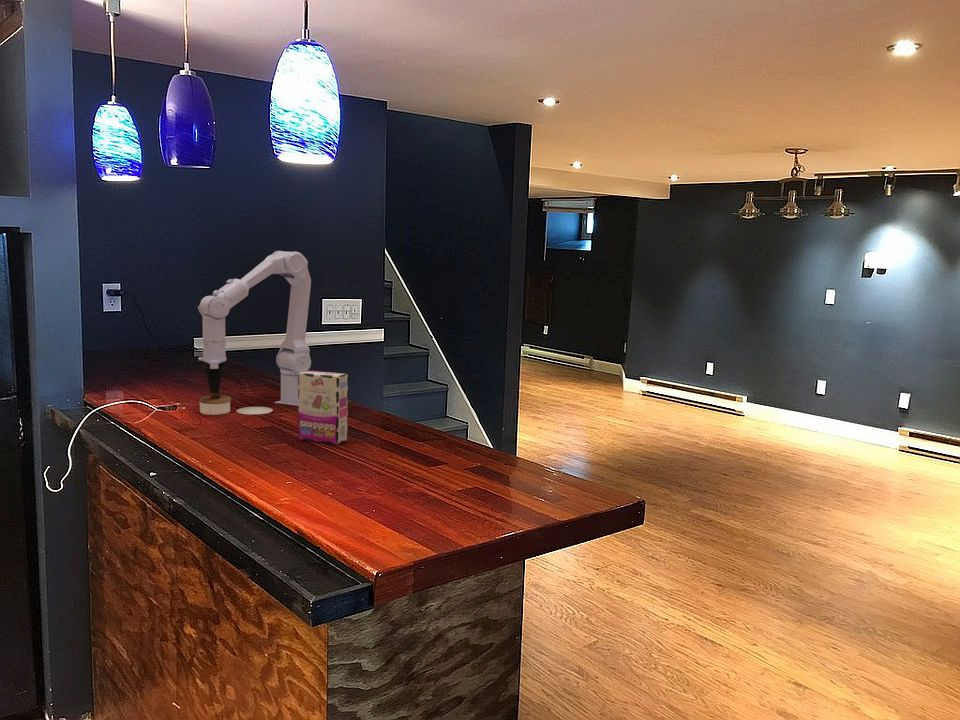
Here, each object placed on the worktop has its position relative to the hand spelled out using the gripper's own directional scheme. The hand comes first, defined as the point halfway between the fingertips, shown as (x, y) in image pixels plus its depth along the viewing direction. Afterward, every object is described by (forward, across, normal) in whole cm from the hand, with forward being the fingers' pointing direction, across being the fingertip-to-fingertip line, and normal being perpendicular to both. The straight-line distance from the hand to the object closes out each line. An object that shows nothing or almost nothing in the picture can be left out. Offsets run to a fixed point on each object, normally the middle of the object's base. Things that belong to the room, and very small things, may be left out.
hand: (214, 391), depth 209 cm
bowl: (+6, 0, 0) cm, 6 cm away
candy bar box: (+6, +33, +25) cm, 42 cm away
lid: (+3, 0, 0) cm, 3 cm away
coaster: (+6, 0, +10) cm, 12 cm away
